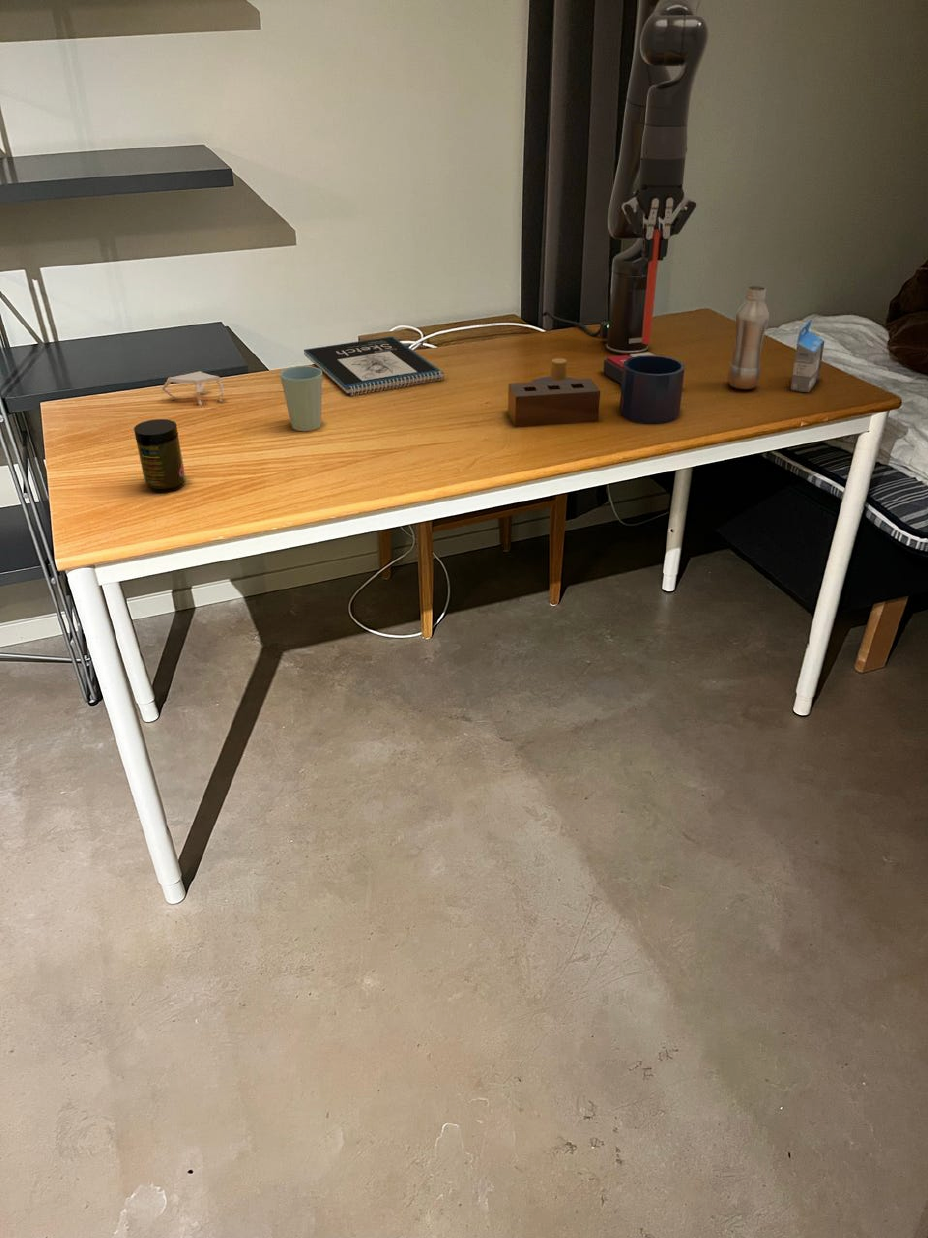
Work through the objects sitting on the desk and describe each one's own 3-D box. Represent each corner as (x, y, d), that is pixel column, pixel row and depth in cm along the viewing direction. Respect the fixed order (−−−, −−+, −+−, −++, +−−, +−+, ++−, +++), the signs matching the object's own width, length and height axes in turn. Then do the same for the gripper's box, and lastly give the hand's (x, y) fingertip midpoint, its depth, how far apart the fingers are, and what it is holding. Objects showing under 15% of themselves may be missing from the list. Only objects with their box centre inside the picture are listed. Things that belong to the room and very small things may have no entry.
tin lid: (521, 383, 206) (521, 352, 203) (579, 380, 208) (581, 348, 204) (534, 405, 196) (535, 372, 192) (596, 401, 198) (598, 368, 194)
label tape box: (808, 393, 200) (819, 332, 194) (788, 389, 202) (798, 329, 195) (818, 380, 207) (830, 321, 200) (799, 376, 209) (809, 318, 202)
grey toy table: (222, 389, 205) (219, 366, 202) (226, 403, 198) (223, 379, 196) (163, 395, 202) (158, 372, 200) (165, 410, 196) (160, 386, 193)
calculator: (650, 350, 212) (684, 368, 200) (649, 369, 215) (682, 389, 202) (603, 355, 210) (635, 374, 197) (602, 375, 212) (633, 395, 200)
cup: (323, 416, 192) (318, 363, 187) (330, 430, 186) (325, 377, 180) (284, 420, 191) (277, 368, 185) (289, 435, 184) (283, 381, 179)
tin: (612, 403, 196) (616, 356, 191) (667, 400, 198) (672, 353, 193) (629, 425, 187) (633, 376, 182) (687, 421, 188) (693, 372, 183)
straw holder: (507, 413, 193) (508, 383, 190) (588, 407, 195) (590, 378, 192) (515, 426, 187) (515, 396, 184) (598, 421, 189) (600, 390, 186)
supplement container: (184, 492, 165) (174, 433, 159) (143, 495, 164) (130, 436, 158) (188, 475, 170) (178, 417, 164) (148, 477, 169) (136, 420, 164)
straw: (640, 341, 185) (650, 229, 174) (648, 341, 186) (659, 229, 175) (643, 344, 184) (653, 231, 173) (651, 344, 184) (662, 231, 173)
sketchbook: (392, 341, 231) (392, 332, 230) (445, 381, 208) (445, 371, 207) (304, 354, 223) (303, 345, 222) (349, 397, 201) (348, 387, 199)
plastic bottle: (755, 381, 206) (770, 283, 195) (760, 393, 201) (776, 293, 190) (723, 381, 207) (737, 283, 196) (727, 392, 201) (742, 292, 190)
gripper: (694, 148, 171) (683, 253, 181) (617, 151, 169) (610, 256, 179) (710, 155, 165) (697, 263, 174) (630, 158, 163) (622, 266, 173)
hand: (653, 259), depth 177 cm, fingers closed on straw, 1 cm apart
